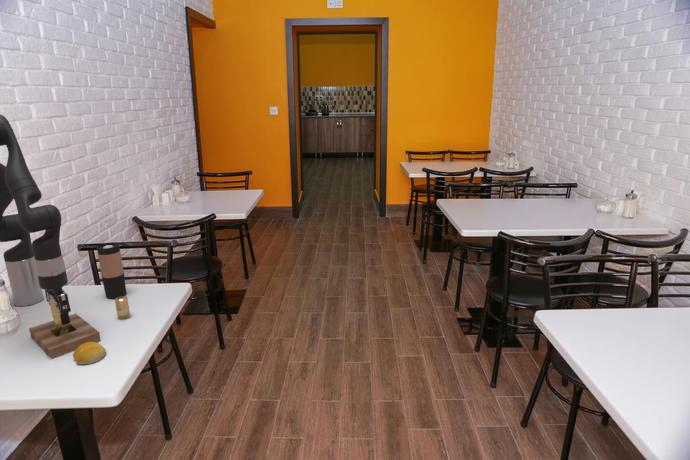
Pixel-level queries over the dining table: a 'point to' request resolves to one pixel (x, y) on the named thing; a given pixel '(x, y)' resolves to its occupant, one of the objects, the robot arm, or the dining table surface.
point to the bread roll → (89, 353)
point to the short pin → (122, 307)
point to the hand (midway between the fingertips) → (61, 319)
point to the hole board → (64, 336)
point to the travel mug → (112, 270)
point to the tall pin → (59, 321)
